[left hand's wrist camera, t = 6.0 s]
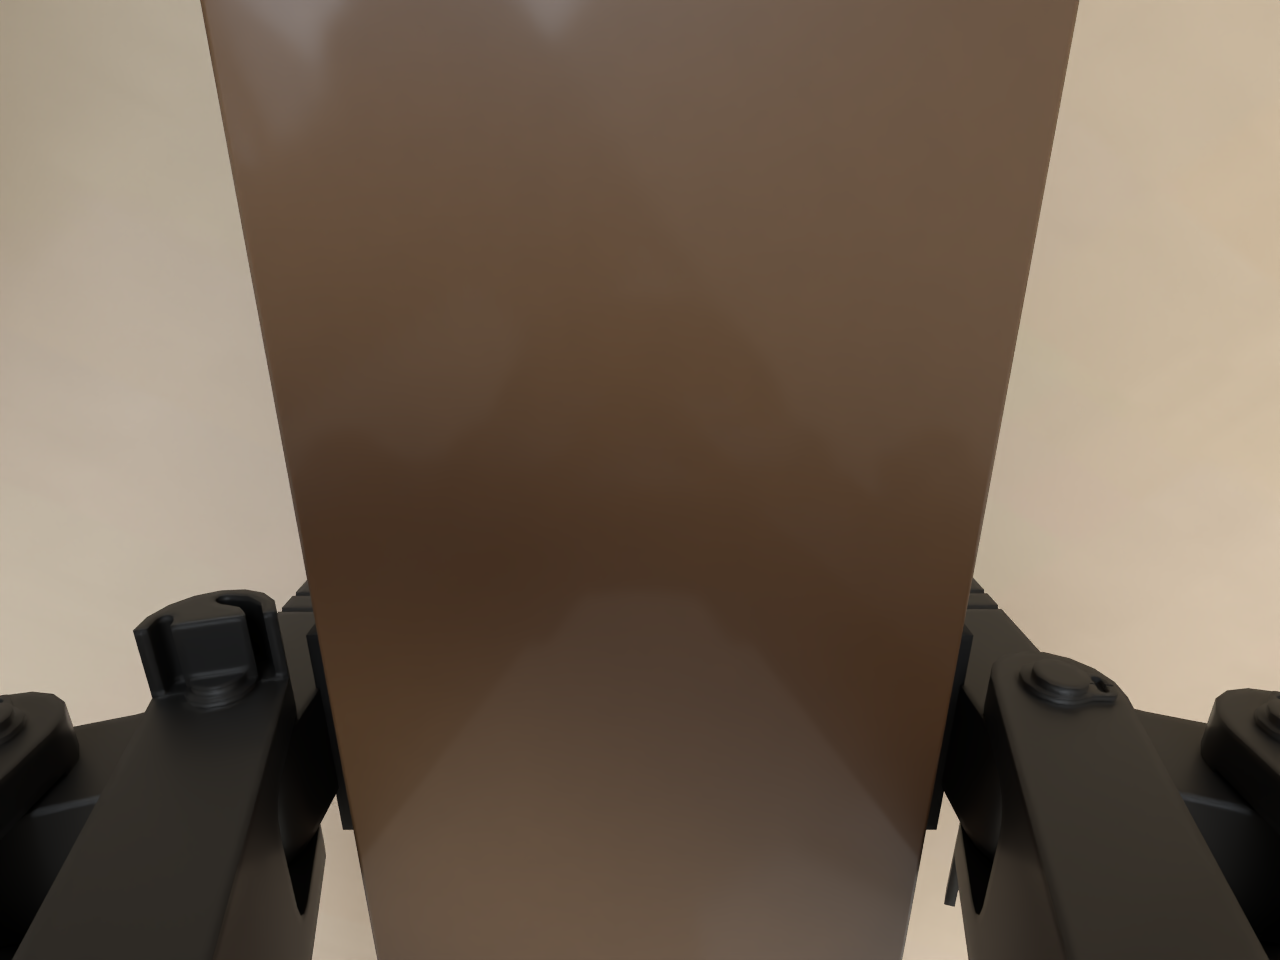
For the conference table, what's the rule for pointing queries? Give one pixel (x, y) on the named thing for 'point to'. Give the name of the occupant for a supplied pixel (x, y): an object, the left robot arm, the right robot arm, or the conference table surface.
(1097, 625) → the conference table surface
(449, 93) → the beam
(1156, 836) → the left robot arm
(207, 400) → the conference table surface
